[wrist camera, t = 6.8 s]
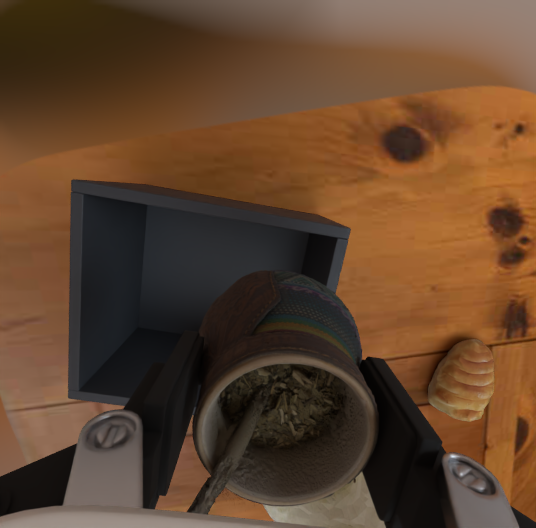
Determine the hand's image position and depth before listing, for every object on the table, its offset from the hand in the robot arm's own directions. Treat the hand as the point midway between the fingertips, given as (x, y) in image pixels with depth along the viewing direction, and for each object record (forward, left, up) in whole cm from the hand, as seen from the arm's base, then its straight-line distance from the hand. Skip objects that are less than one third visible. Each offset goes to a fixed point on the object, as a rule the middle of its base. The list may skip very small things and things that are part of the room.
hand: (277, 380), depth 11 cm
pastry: (+11, +25, -22) cm, 35 cm away
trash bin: (+3, -5, -22) cm, 22 cm away
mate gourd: (0, 0, -5) cm, 5 cm away
